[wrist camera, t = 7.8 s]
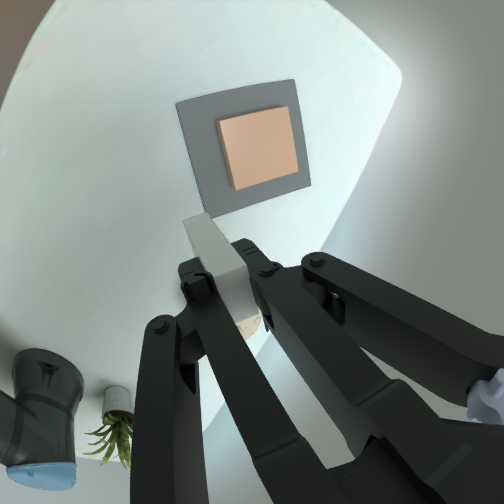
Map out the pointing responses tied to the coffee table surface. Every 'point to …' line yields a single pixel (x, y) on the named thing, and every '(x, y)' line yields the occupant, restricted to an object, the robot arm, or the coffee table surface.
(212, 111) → the mat
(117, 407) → the house plant
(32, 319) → the coffee table surface
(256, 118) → the tile
